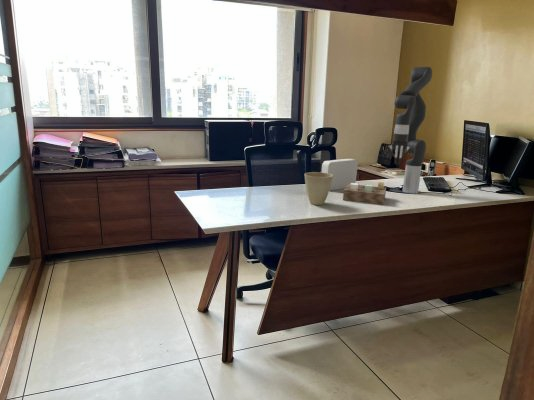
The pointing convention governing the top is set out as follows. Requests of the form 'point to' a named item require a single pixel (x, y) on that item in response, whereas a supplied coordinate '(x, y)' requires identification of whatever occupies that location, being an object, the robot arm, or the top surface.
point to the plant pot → (317, 186)
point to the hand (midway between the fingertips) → (397, 164)
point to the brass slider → (380, 185)
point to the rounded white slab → (341, 172)
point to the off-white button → (353, 186)
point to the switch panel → (365, 195)
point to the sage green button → (368, 188)
